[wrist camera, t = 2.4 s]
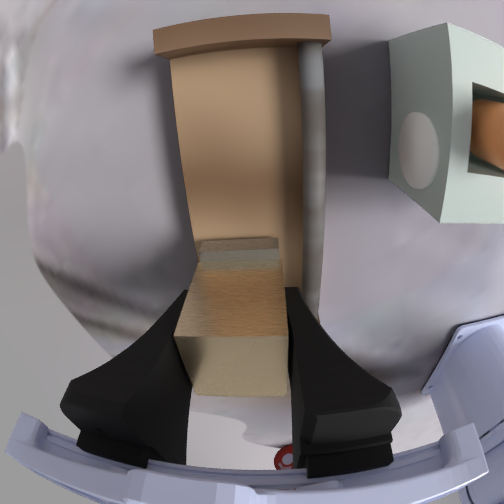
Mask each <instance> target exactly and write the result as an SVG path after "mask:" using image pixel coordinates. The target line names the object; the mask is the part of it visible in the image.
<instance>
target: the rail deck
mask: <svg viewBox="0 0 504 504" xmlns="http://www.w3.org/2000/svg"><path fill="white" fill-rule="evenodd" d="M153 40H154V54H155V55H158V56H161V57H164V58H167V59H170V66H171V77H172V88H173V98H174V107H175V116H176V124H177V132H178V140H179V148H180V155H181V162H182V169H183V176H184V183H185V189H186V195H187V202H188V208H189V214H190V220H191V225H192V231H193V237H194V242H195V248H196V253H197V258H198V262H200V256H199V250H200V247H201V245H202V242H203V241H212V240H233V239H255V238H278V241H279V259H282V266H283V277H284V287H298V288H299V289H300V291H301V294H302V296H303V298H304V300H305V302H306V303H307V305H308V307H309V308H310V310H311V312H312V313H313V315H314V316H315V318H316V319H317V321H318V322H319V324H320V320H319V315H318V308H319V298H320V286H321V274H322V260H323V243H324V224H325V196H326V113H325V87H324V69H323V54H322V47H323V46H324V45H325V44H327V43H328V42H329V41H330V40H331V29H330V19H329V15H324V14H305V13H268V14H249V15H237V16H227V17H218V18H211V19H204V20H198V21H192V22H187V23H182V24H177V25H172V26H168V27H163V28H159V29H155V30H153Z"/></svg>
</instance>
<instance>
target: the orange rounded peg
mask: <svg viewBox="0 0 504 504" xmlns="http://www.w3.org/2000/svg"><path fill="white" fill-rule="evenodd" d="M470 151H471V152H472V153H473V154H474V155H475V156H476V157H478V158H480V159H482V160H484V161H487V162H489V163H491V164H493V165H495V166H497V167H499V168H501V169H503V170H504V103H500V102H495V101H490V100H484V99H478V100H475V101H473V102H472V127H471V141H470Z"/></svg>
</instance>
